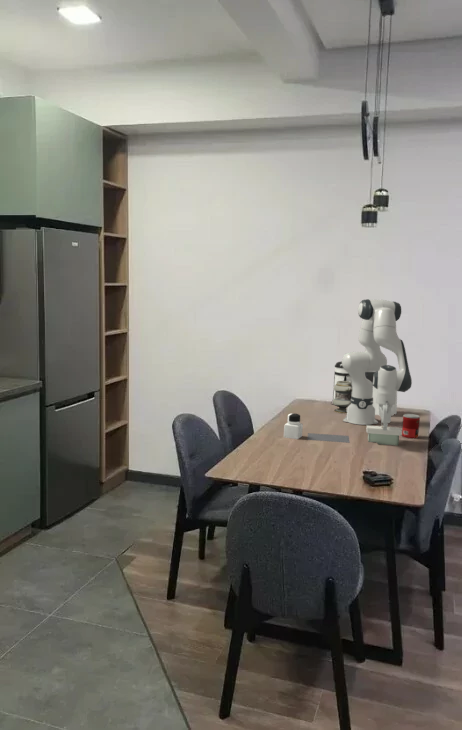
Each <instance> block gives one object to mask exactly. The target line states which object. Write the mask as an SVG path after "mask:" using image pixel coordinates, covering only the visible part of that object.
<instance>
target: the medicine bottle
mask: <svg viewBox="0 0 462 730" xmlns="http://www.w3.org/2000/svg"><path fill="white" fill-rule="evenodd" d="M283 426H284V427H283V438H286V439H294V440H299V439H300V438H302V437H303V427H304V424H303V423H301V415H300V414H299V413H289V414H287V422H286V423H285V424H284V425H283Z"/></svg>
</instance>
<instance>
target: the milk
mask: <svg viewBox="0 0 462 730" xmlns="http://www.w3.org/2000/svg"><path fill="white" fill-rule="evenodd" d="M377 391H378V389H376V388H375V387H374V386H373V396H372V397H373V404H372V405H373V407H374V408H375V416H380V415H379V404H378V403H376V399H377ZM397 403H398V391H396V401H395V404H394V405H392V408H391V417H392V416H394V414H395V415H397V410H398V405H397Z"/></svg>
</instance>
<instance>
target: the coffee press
mask: <svg viewBox="0 0 462 730" xmlns="http://www.w3.org/2000/svg"><path fill="white" fill-rule="evenodd" d="M337 381H349V382H351V385H352V379H351V377H350V375H349V373H348V372H347V371H346V370H345V369H344V368H343V366H342V360H341V361H338V362H336V363H335V364H334V376H333V387H334V386H335V385H336V384H337ZM332 393H333V394H332V401H331V402H330V404H331V405H334V404H333V400H334V399H335V390H334V389H333V392H332ZM351 396H352V393H351Z"/></svg>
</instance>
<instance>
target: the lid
mask: <svg viewBox="0 0 462 730" xmlns="http://www.w3.org/2000/svg"><path fill="white" fill-rule="evenodd" d="M365 426H366V428H365V429H366V430H365V431H366V434H368V433H371V434H385V435H399V437H400V436H402V428H401V427H397V426H395V427H394V426H387V430H386V431H385V430H383V425H382V426H381V425H365Z"/></svg>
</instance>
